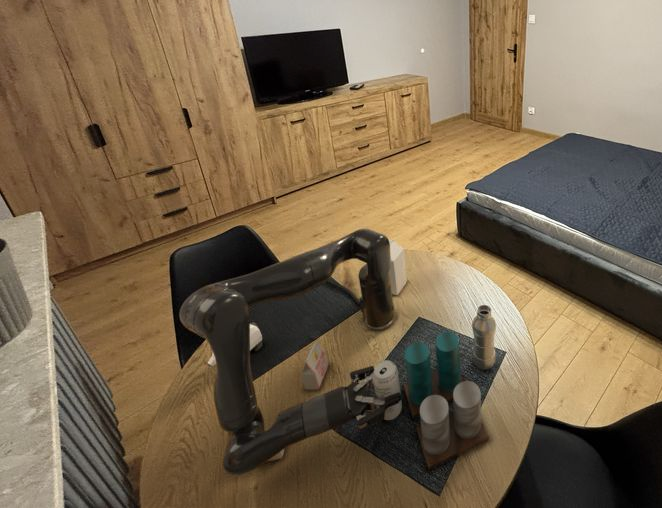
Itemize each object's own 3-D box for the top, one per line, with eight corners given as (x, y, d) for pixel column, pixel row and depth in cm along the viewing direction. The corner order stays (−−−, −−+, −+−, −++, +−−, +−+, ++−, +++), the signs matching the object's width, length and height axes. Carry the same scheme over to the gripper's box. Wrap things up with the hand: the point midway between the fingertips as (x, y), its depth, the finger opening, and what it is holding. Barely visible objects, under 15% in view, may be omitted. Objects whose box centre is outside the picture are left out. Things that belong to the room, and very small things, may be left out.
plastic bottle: (494, 375, 102) (495, 321, 94) (470, 370, 103) (469, 317, 95) (497, 354, 107) (498, 302, 100) (474, 351, 109) (474, 299, 101)
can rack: (413, 418, 91) (408, 373, 85) (403, 387, 99) (398, 343, 92) (467, 394, 97) (467, 350, 90) (454, 365, 104) (453, 323, 98)
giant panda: (254, 337, 114) (247, 313, 110) (267, 342, 112) (260, 319, 108) (208, 377, 102) (198, 353, 98) (221, 385, 100) (212, 360, 96)
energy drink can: (407, 406, 94) (402, 365, 88) (390, 427, 89) (384, 385, 83) (390, 394, 97) (384, 353, 91) (373, 413, 92) (366, 372, 86)
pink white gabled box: (305, 389, 98) (298, 363, 95) (315, 366, 105) (309, 340, 101) (318, 389, 98) (312, 363, 94) (328, 366, 105) (322, 341, 101)
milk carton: (406, 282, 136) (402, 239, 128) (397, 295, 130) (392, 251, 122) (389, 278, 138) (384, 236, 131) (379, 291, 132) (374, 247, 124)
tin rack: (428, 470, 81) (425, 436, 76) (416, 430, 89) (413, 397, 84) (488, 439, 87) (489, 405, 82) (472, 404, 94) (472, 371, 89)
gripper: (326, 432, 77) (403, 399, 83) (321, 374, 89) (389, 349, 95) (331, 453, 80) (406, 420, 86) (326, 394, 92) (391, 369, 98)
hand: (396, 383), depth 91 cm, fingers open, 6 cm apart
